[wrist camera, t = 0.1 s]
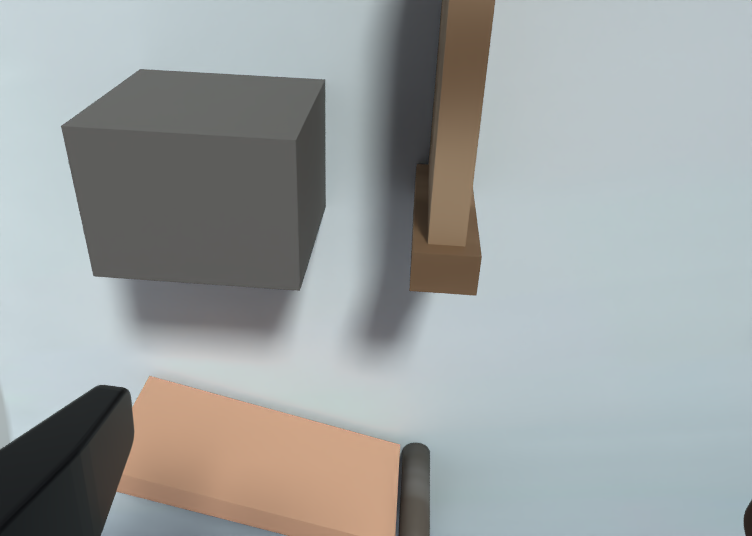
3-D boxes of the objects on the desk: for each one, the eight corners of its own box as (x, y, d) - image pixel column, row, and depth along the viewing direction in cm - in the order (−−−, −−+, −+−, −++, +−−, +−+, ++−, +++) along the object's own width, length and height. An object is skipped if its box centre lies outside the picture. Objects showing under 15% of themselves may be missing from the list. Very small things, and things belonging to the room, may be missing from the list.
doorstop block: (325, 79, 21) (295, 140, 17) (325, 205, 24) (299, 290, 19) (141, 68, 22) (61, 126, 17) (159, 195, 24) (93, 275, 19)
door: (400, 444, 29) (394, 545, 25) (393, 460, 30) (386, 560, 25) (149, 375, 28) (99, 468, 24) (146, 393, 29) (96, 486, 24)
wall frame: (429, 514, 32) (429, 640, 27) (391, 511, 32) (383, 635, 27) (514, -213, 17) (550, -244, 12) (443, -215, 17) (449, -248, 12)
